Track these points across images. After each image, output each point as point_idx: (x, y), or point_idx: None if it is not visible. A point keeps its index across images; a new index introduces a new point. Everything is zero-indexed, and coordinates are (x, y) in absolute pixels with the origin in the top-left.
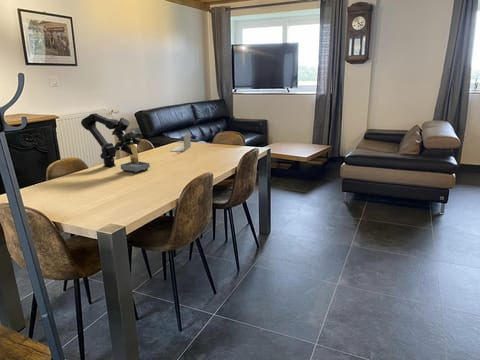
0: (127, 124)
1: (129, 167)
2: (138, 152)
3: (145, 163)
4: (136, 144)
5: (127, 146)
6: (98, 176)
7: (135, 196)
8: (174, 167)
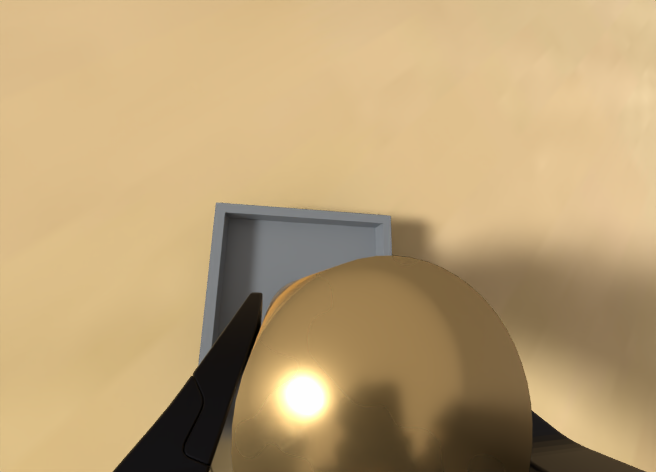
0: None
1: None
2: (258, 292)
3: (222, 250)
4: (312, 292)
5: (552, 457)
6: None
7: (585, 15)
8: (87, 78)
